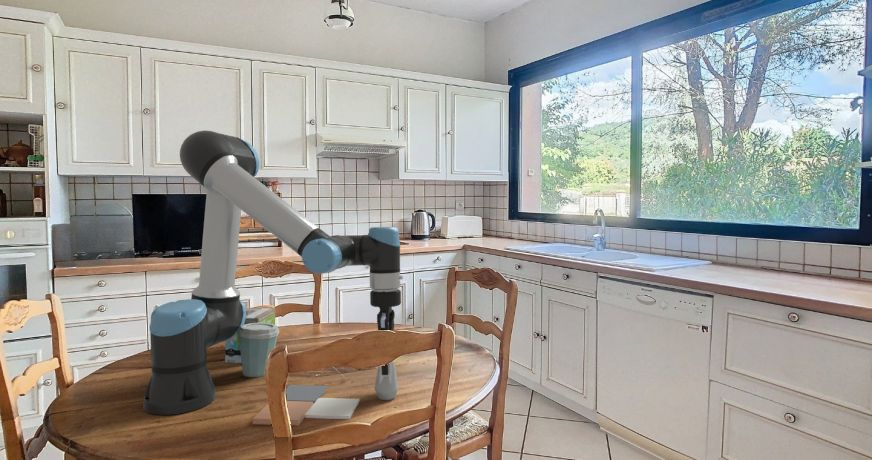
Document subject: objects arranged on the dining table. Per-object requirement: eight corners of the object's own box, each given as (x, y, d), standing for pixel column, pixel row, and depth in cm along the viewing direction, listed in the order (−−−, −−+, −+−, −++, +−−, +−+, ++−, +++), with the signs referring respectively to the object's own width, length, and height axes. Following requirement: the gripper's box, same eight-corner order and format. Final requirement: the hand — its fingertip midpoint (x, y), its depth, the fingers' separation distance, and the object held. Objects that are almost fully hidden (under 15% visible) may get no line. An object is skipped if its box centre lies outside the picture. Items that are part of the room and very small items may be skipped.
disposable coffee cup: (236, 371, 140) (238, 320, 138) (276, 368, 144) (278, 318, 142) (236, 387, 130) (237, 331, 128) (279, 383, 134) (281, 329, 132)
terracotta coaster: (252, 424, 106) (252, 418, 106) (271, 405, 116) (271, 400, 116) (298, 425, 105) (298, 419, 105) (313, 406, 115) (313, 401, 115)
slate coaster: (274, 404, 118) (274, 399, 118) (289, 389, 128) (289, 384, 128) (315, 405, 117) (315, 400, 117) (327, 390, 127) (327, 385, 127)
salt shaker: (394, 402, 118) (394, 348, 117) (371, 400, 119) (371, 346, 119) (401, 394, 124) (401, 342, 123) (379, 392, 125) (379, 340, 124)
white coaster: (304, 420, 109) (304, 414, 109) (318, 402, 119) (318, 397, 119) (349, 421, 109) (349, 416, 109) (359, 403, 119) (359, 398, 119)
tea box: (258, 368, 144) (258, 317, 143) (224, 367, 144) (223, 317, 143) (276, 352, 159) (275, 307, 158) (244, 352, 159) (244, 306, 158)
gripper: (396, 294, 113) (398, 396, 113) (403, 284, 131) (405, 371, 132) (363, 295, 113) (366, 396, 113) (375, 284, 132) (377, 371, 132)
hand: (387, 382), depth 122 cm, fingers open, 6 cm apart
